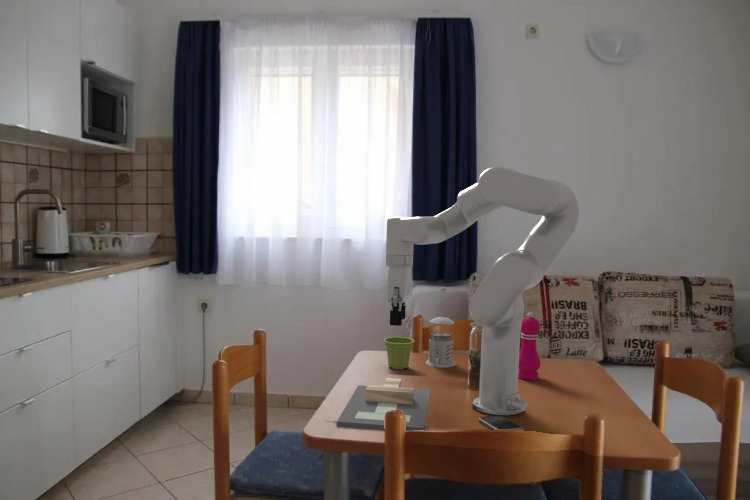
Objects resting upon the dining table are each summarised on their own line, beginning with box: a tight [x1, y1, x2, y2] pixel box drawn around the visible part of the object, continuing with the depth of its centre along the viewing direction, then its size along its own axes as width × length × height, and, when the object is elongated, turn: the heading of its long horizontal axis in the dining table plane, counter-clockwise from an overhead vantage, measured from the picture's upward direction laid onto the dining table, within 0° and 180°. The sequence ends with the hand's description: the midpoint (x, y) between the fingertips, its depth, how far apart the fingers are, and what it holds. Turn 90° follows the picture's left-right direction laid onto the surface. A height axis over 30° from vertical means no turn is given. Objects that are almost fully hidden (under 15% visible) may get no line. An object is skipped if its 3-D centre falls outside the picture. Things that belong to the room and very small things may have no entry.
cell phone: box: [478, 414, 525, 431], centre depth 148 cm, size 6×11×1 cm, turn 23°
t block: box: [365, 377, 415, 404], centre depth 166 cm, size 12×12×3 cm
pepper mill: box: [518, 311, 541, 381], centre depth 191 cm, size 7×7×20 cm
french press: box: [425, 286, 456, 368], centre depth 205 cm, size 10×12×25 cm
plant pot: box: [383, 336, 415, 370], centre depth 200 cm, size 9×9×9 cm
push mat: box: [336, 384, 431, 431], centre depth 159 cm, size 30×20×1 cm, turn 172°
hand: (397, 322), depth 177 cm, fingers open, 9 cm apart
